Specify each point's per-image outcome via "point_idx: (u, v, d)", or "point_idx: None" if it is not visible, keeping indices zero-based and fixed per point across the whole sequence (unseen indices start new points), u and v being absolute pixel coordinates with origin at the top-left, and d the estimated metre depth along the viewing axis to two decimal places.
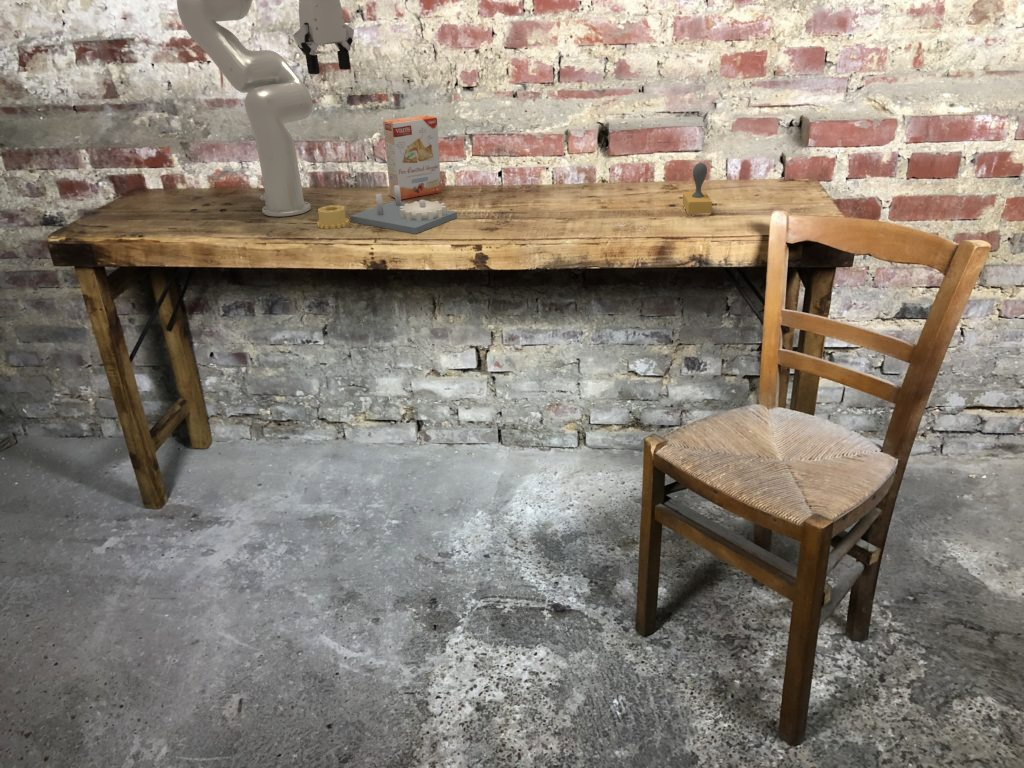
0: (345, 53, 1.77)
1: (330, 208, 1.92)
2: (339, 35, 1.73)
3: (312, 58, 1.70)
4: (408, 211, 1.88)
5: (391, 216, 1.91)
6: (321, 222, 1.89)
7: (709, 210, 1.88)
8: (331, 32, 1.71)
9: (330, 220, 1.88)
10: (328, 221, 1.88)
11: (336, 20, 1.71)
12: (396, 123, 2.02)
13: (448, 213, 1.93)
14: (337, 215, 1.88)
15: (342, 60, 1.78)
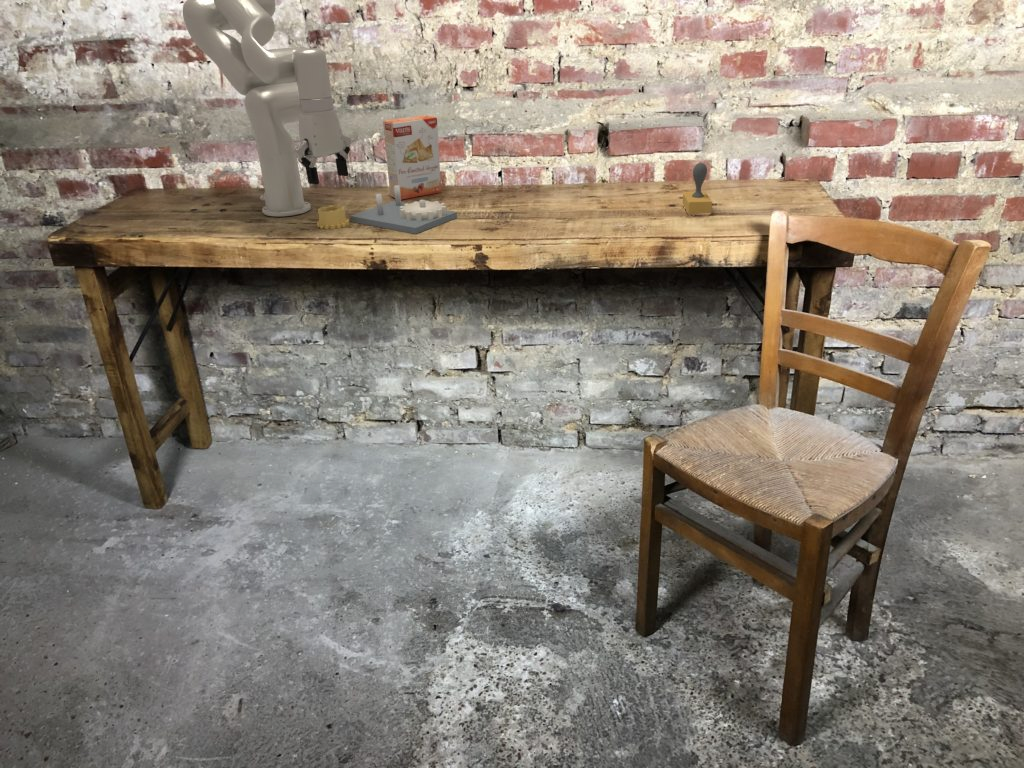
0: (343, 161, 1.87)
1: (330, 208, 1.92)
2: (337, 146, 1.84)
3: (312, 170, 1.80)
4: (408, 211, 1.88)
5: (391, 216, 1.91)
6: (321, 222, 1.89)
7: (709, 210, 1.88)
8: (330, 145, 1.81)
9: (330, 220, 1.88)
10: (328, 221, 1.88)
11: (334, 134, 1.82)
12: (396, 123, 2.02)
13: (448, 213, 1.93)
14: (337, 215, 1.88)
15: (340, 167, 1.89)
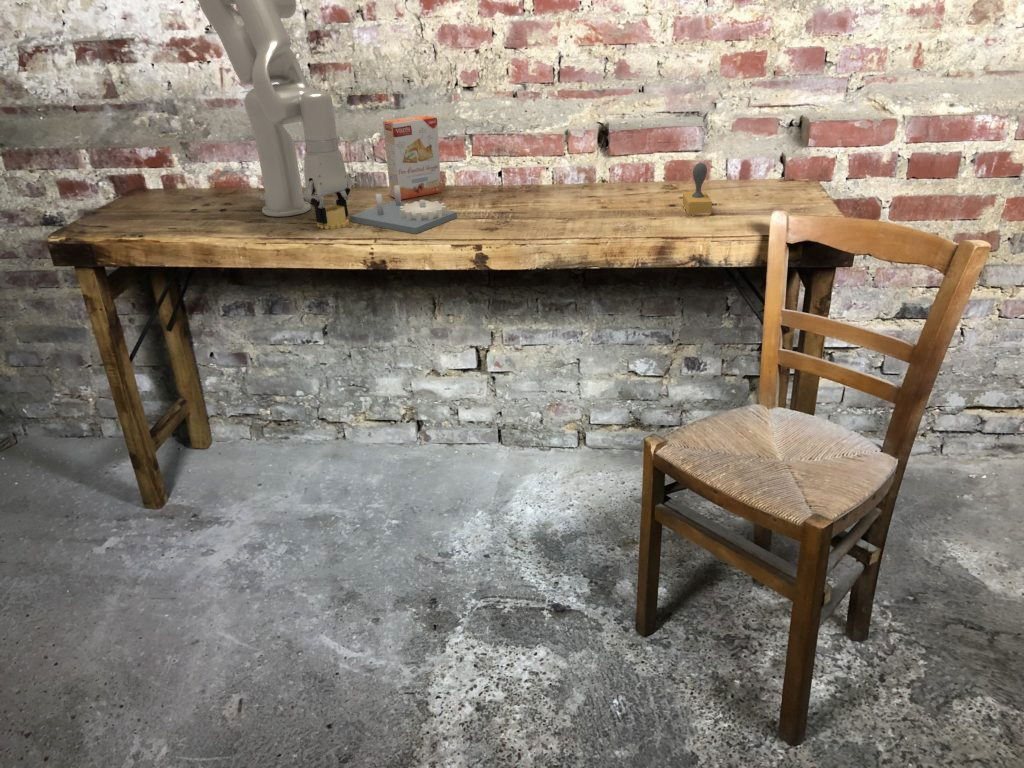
0: (343, 203, 1.91)
1: (330, 208, 1.92)
2: (341, 185, 1.88)
3: (320, 210, 1.86)
4: (408, 211, 1.88)
5: (391, 216, 1.91)
6: None
7: (709, 210, 1.88)
8: (334, 183, 1.86)
9: (330, 220, 1.88)
10: (328, 221, 1.88)
11: (338, 173, 1.86)
12: (396, 123, 2.02)
13: (448, 213, 1.93)
14: (337, 215, 1.88)
15: None
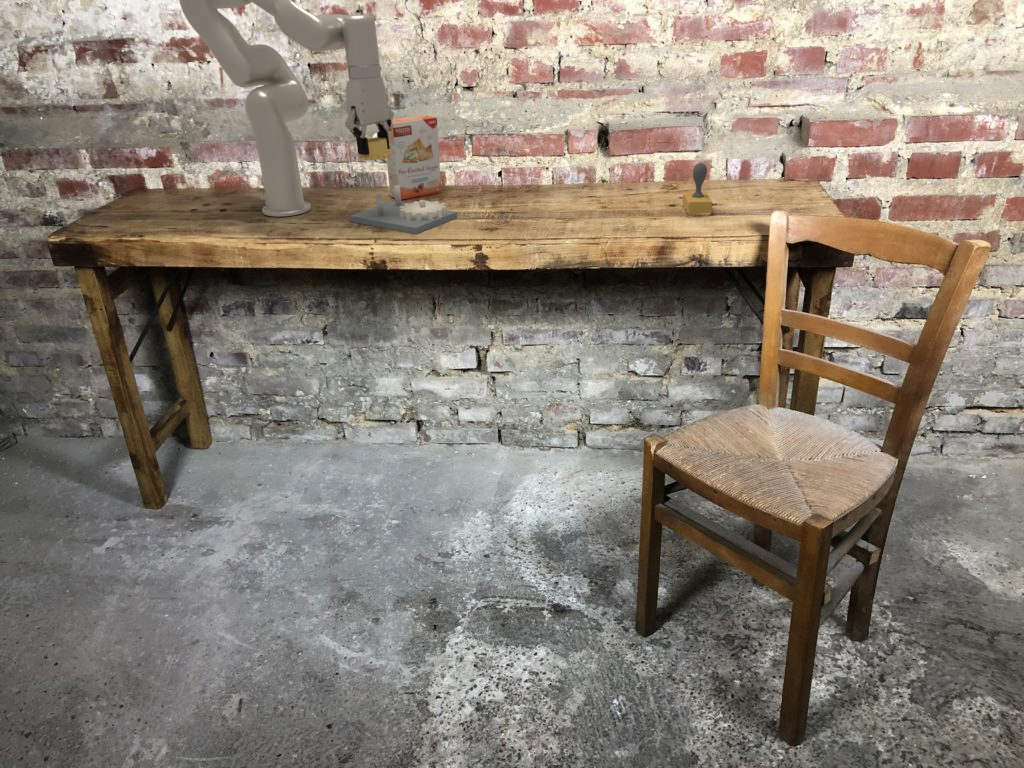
0: (385, 134, 1.86)
1: (371, 140, 1.86)
2: (383, 115, 1.83)
3: (362, 140, 1.81)
4: (408, 211, 1.88)
5: (391, 216, 1.91)
6: None
7: (709, 210, 1.88)
8: (376, 112, 1.81)
9: (372, 151, 1.83)
10: (370, 152, 1.83)
11: (380, 101, 1.81)
12: (396, 123, 2.02)
13: (448, 213, 1.93)
14: (379, 146, 1.83)
15: None
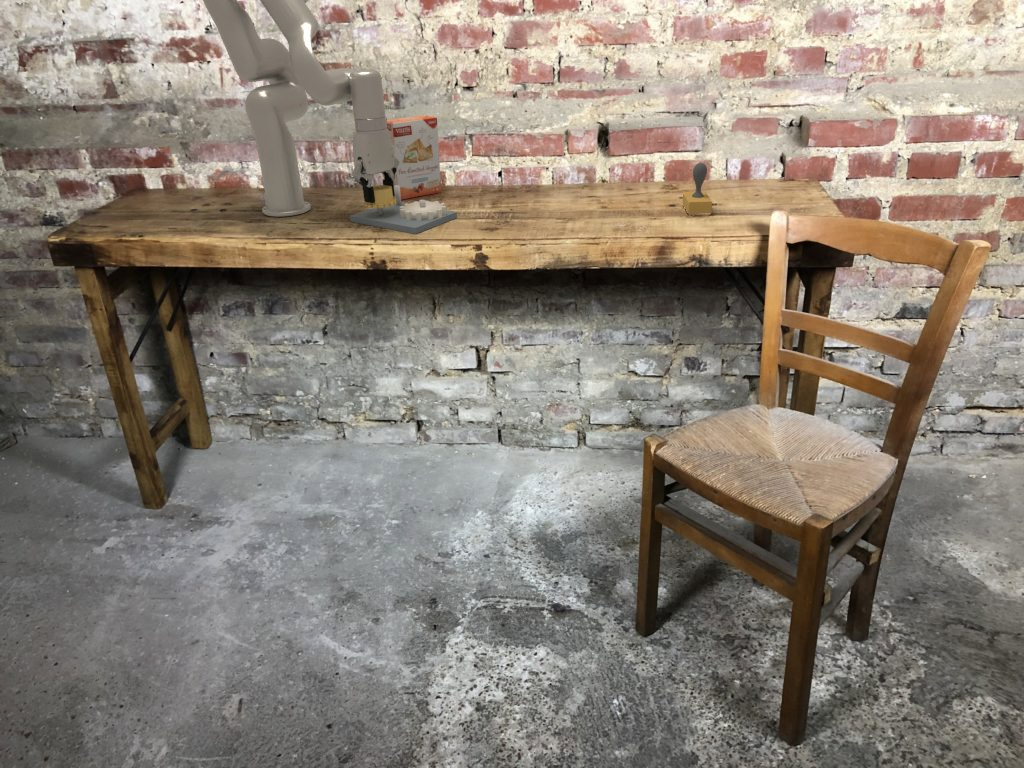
0: (390, 182, 1.92)
1: (377, 188, 1.92)
2: (389, 164, 1.89)
3: (369, 189, 1.87)
4: (408, 211, 1.88)
5: (391, 216, 1.91)
6: None
7: (709, 210, 1.88)
8: (382, 162, 1.86)
9: (378, 199, 1.89)
10: (376, 200, 1.89)
11: (386, 152, 1.86)
12: (396, 123, 2.02)
13: (448, 213, 1.93)
14: (385, 194, 1.88)
15: None
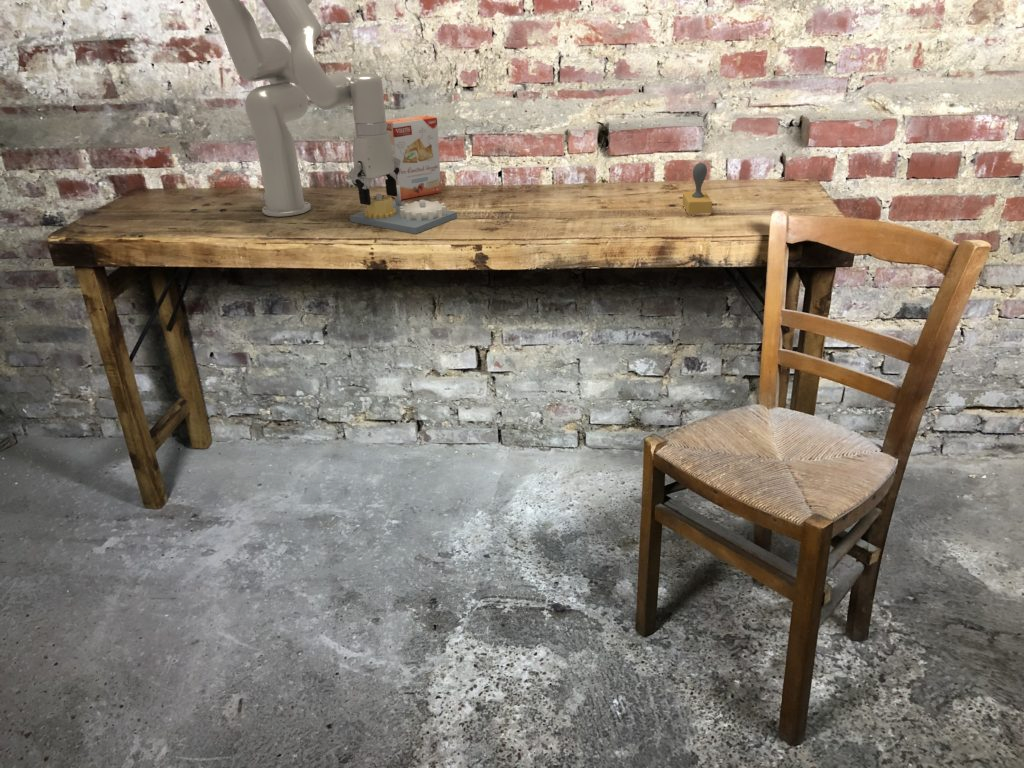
0: (393, 182, 1.93)
1: None
2: (389, 168, 1.89)
3: (364, 191, 1.86)
4: (408, 211, 1.88)
5: None
6: (369, 212, 1.91)
7: (709, 210, 1.88)
8: (382, 167, 1.87)
9: (378, 210, 1.90)
10: (376, 211, 1.90)
11: (386, 156, 1.87)
12: (396, 123, 2.02)
13: (448, 213, 1.93)
14: (385, 205, 1.90)
15: (389, 188, 1.94)
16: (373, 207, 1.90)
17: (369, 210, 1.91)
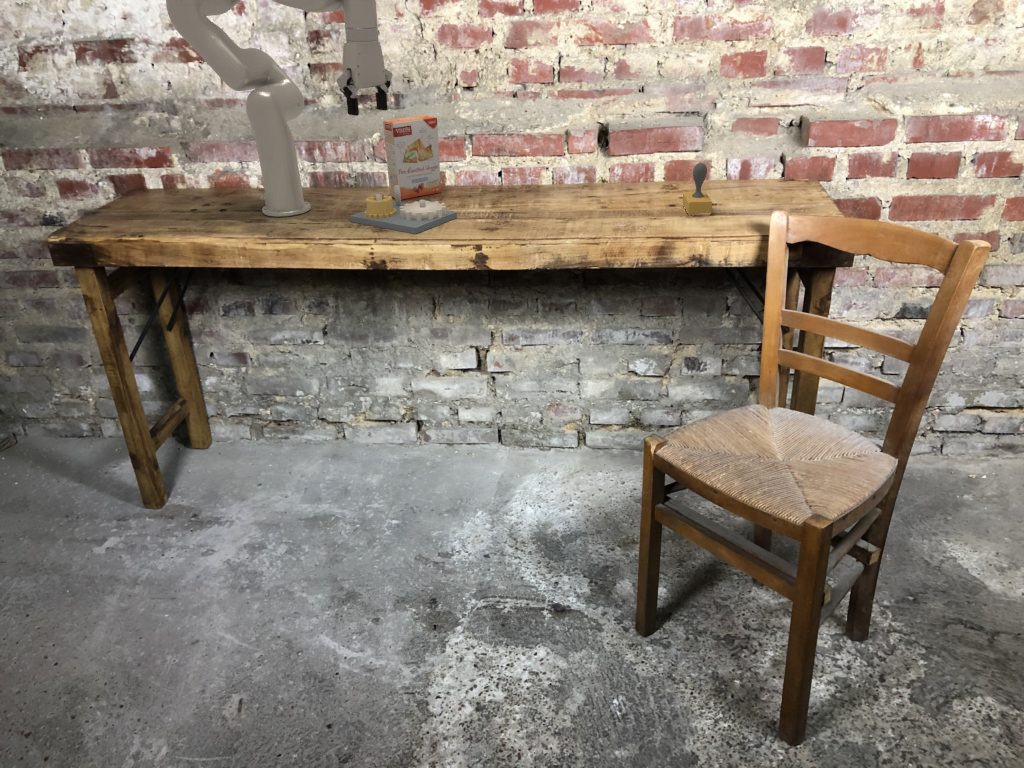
0: (383, 95, 1.88)
1: None
2: (379, 79, 1.84)
3: (352, 101, 1.81)
4: (408, 211, 1.88)
5: None
6: (369, 212, 1.91)
7: (709, 210, 1.88)
8: (372, 76, 1.82)
9: (378, 210, 1.90)
10: (376, 211, 1.90)
11: (377, 66, 1.82)
12: (396, 123, 2.02)
13: (448, 213, 1.93)
14: (385, 205, 1.90)
15: (380, 101, 1.89)
16: (373, 207, 1.90)
17: (369, 210, 1.91)
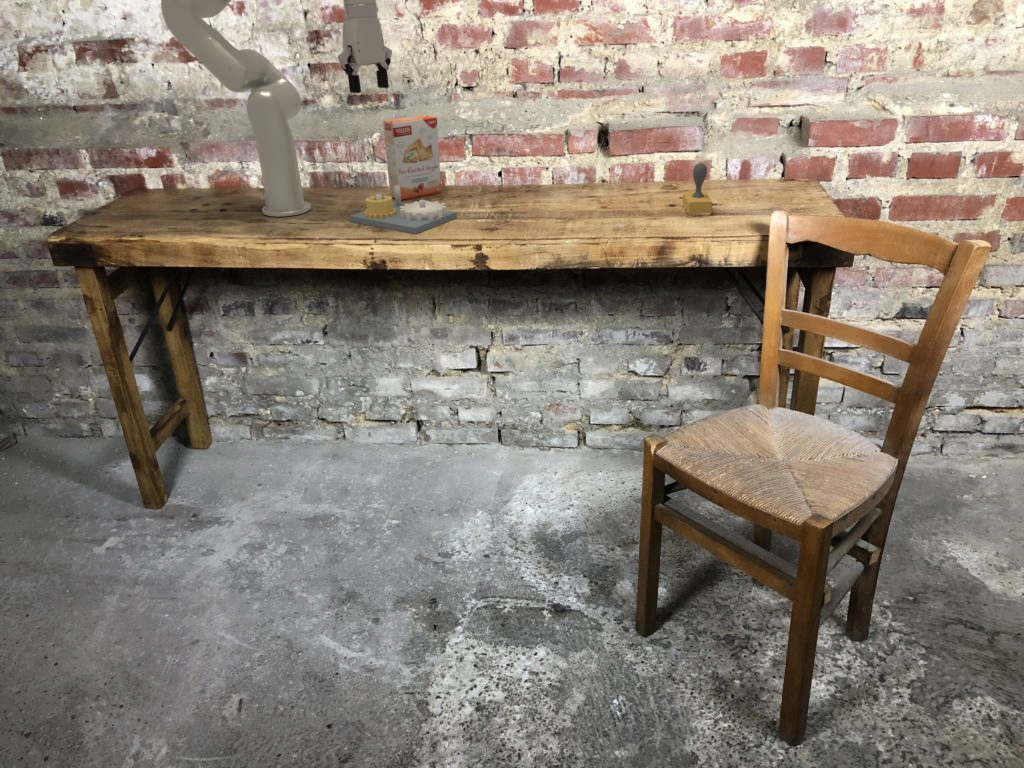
0: (384, 73, 1.88)
1: None
2: (379, 56, 1.84)
3: (354, 78, 1.81)
4: (408, 211, 1.88)
5: None
6: (369, 212, 1.91)
7: (709, 210, 1.88)
8: (372, 53, 1.82)
9: (378, 210, 1.90)
10: (376, 211, 1.90)
11: (377, 42, 1.82)
12: (396, 123, 2.02)
13: (448, 213, 1.93)
14: (385, 205, 1.90)
15: (381, 79, 1.89)
16: (373, 207, 1.90)
17: (369, 210, 1.91)
